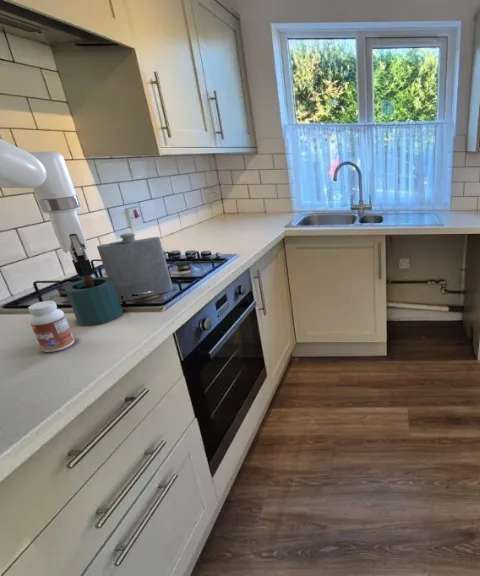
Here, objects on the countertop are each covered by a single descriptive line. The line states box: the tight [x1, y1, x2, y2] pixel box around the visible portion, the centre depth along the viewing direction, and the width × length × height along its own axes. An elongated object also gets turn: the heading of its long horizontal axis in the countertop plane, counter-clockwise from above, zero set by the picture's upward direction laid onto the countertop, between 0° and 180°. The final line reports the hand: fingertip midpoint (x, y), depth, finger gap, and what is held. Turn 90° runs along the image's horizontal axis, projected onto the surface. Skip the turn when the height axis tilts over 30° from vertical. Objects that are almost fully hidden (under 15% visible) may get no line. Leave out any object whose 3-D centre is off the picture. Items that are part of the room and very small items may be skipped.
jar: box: [64, 276, 124, 326], centre depth 100 cm, size 10×10×10 cm
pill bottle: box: [27, 300, 75, 353], centre depth 85 cm, size 6×6×11 cm
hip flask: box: [96, 232, 174, 303], centre depth 111 cm, size 16×4×20 cm, turn 126°
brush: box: [81, 275, 95, 288], centre depth 98 cm, size 5×5×17 cm
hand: (85, 273), depth 97 cm, fingers closed on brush
